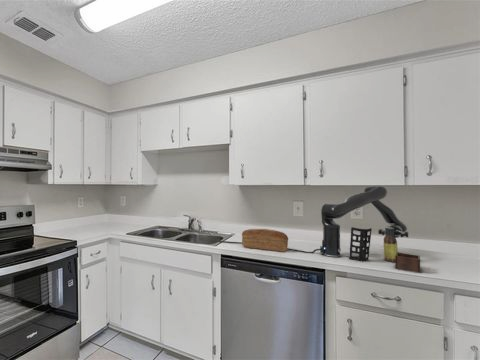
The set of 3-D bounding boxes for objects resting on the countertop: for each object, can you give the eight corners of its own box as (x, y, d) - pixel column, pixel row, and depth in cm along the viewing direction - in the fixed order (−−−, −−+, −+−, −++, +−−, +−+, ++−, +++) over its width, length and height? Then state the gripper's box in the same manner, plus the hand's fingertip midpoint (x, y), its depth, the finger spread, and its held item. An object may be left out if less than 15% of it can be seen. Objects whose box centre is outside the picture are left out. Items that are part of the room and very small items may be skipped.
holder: (363, 257, 165) (365, 226, 163) (373, 262, 158) (376, 229, 156) (346, 257, 165) (348, 226, 163) (355, 262, 157) (357, 229, 155)
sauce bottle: (400, 262, 155) (400, 228, 155) (388, 262, 156) (388, 228, 156) (392, 259, 162) (392, 227, 162) (381, 258, 163) (380, 226, 163)
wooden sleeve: (395, 268, 144) (395, 255, 144) (396, 264, 152) (396, 252, 152) (420, 273, 137) (420, 259, 138) (420, 268, 145) (420, 255, 145)
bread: (243, 244, 200) (243, 226, 200) (288, 249, 185) (288, 230, 185) (240, 247, 189) (240, 228, 190) (287, 253, 175) (287, 232, 175)
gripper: (380, 224, 180) (377, 227, 169) (409, 226, 170) (407, 230, 159) (380, 235, 180) (377, 238, 169) (409, 238, 170) (407, 242, 159)
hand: (392, 234), depth 164 cm, fingers open, 8 cm apart
